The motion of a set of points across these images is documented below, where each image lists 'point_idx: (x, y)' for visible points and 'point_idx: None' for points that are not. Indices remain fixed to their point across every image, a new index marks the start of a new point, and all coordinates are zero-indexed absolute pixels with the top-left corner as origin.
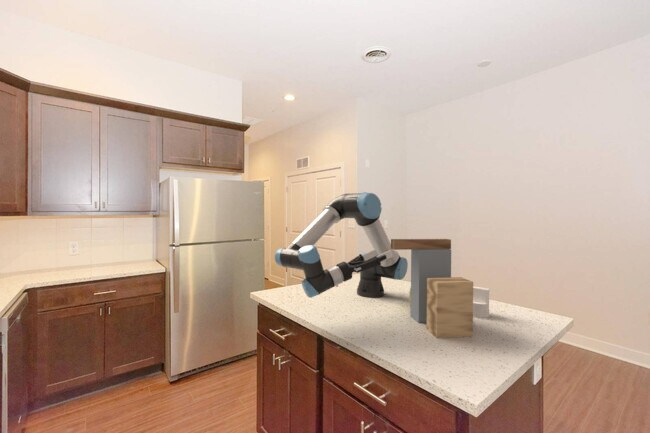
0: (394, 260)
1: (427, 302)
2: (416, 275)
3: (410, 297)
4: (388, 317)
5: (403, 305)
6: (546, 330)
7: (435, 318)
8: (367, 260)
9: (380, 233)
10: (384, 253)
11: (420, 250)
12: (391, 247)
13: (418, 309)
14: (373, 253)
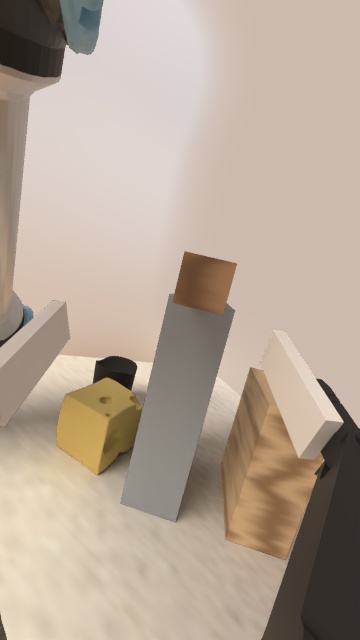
0: (13, 321)
1: (251, 472)
2: (191, 390)
3: (72, 428)
4: (83, 595)
5: (35, 455)
6: (235, 397)
7: (292, 515)
8: (355, 542)
9: (16, 193)
10: (305, 366)
11: (233, 311)
12: (184, 298)
13: (183, 487)
14: (55, 333)
